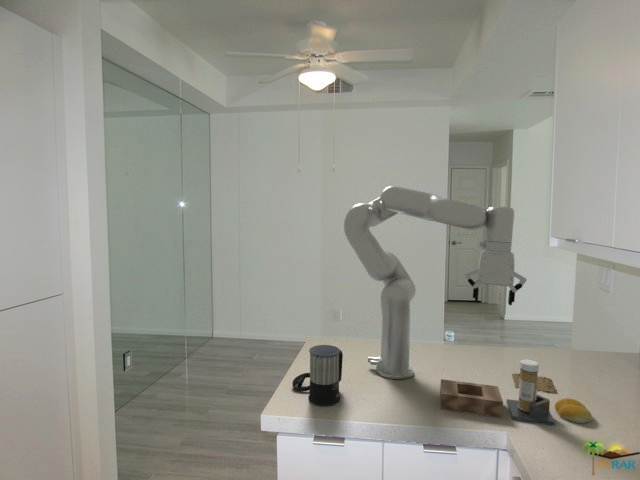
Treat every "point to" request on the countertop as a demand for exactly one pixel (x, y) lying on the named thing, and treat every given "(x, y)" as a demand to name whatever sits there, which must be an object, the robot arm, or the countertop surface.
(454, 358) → the countertop surface
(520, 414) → the v block
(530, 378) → the sprinkles bottle
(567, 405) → the bread roll
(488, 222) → the robot arm
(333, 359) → the milk frother
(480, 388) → the wooden block with hole
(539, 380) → the cookie
